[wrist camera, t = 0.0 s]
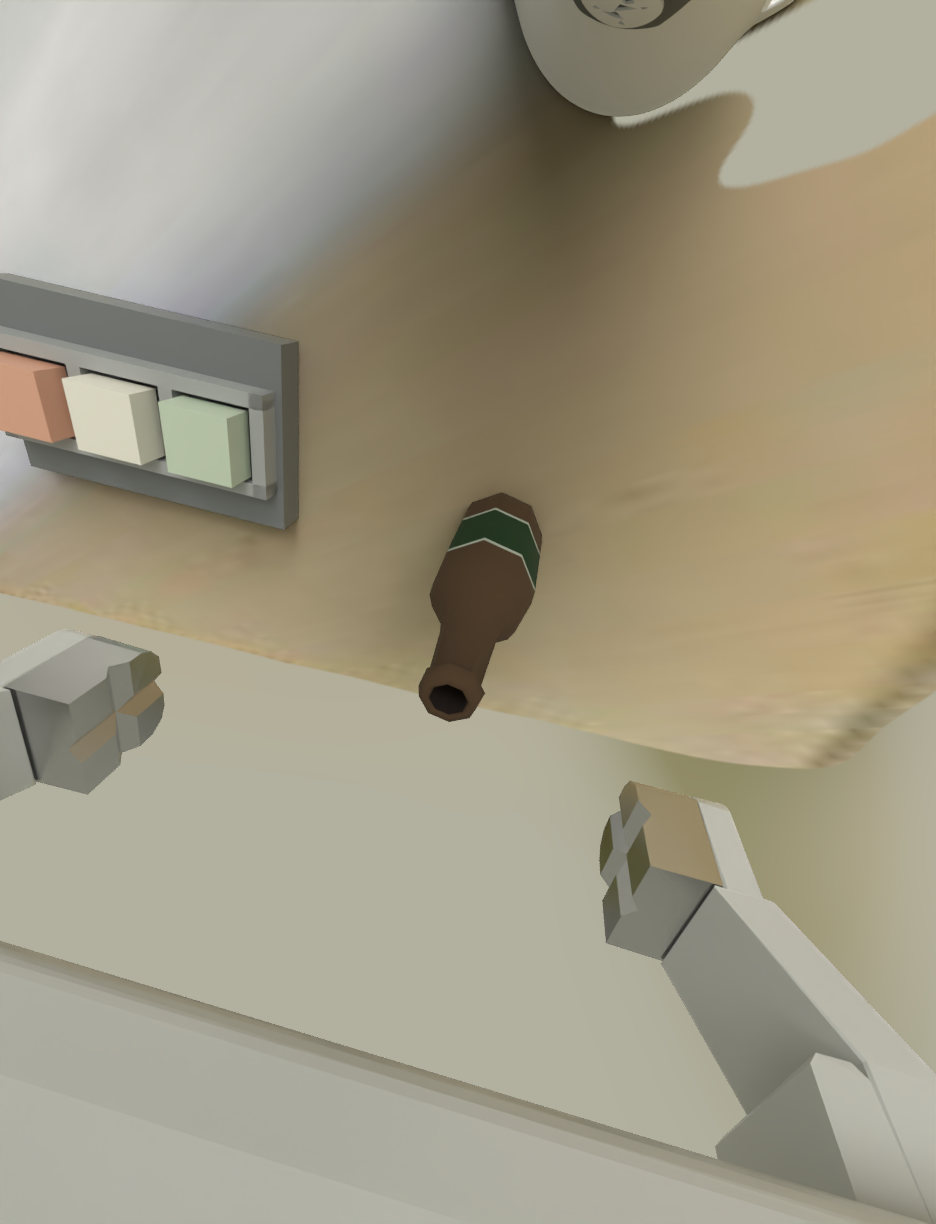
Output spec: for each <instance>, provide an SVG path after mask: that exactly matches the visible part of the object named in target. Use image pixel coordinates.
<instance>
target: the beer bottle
mask: <svg viewBox="0 0 936 1224" xmlns="http://www.w3.org/2000/svg"><path fill="white" fill-rule="evenodd" d="M541 543H542V535H541V532H540V529H539V526H538V523H537V521H536V518H535V515H534V512H533V510H532V507H531V506H530V505H528V504H525V503H523V502H521V501H519V500H517V499H515V498H513V497H510V496H508V495H506V494H504V493H499V494H496V495H493V496H490V497H488V498H485V499H482V500H479V501H476V502H473V503H472V504H471V505H470V507H469V508H468V510H467V512H466V514H465V516H464V518H463V520H462V522H461V524H460V526H459V528H458V530H457V532H456V535H455V537H454V539H453V541H452V543H451V545H450V547H449V549H448V551H447V553H446V555H445V558H444V560H443V562H442V565H441V567H440V569H439V571H438V574H437V576H436V578H435V581H434V583H433V586H432V589H431V592H430V598H431V603H432V607H433V609H434V611H435V613H436V615H437V617H438V619H439V621H440V623H441V628H440V635H439V638H438V642H437V645H436V649H435V652H434V655H433V659H432V662H431V666H430V667H429V668H427V669H426V671H425V673H424V675H423V678H422V680H421V682H420V684H419V697H420V699H421V701H422V702H423V704H424V706H425V708H426V710H427V711H428V713H430V714H432V715H434V716H437V717H439V718H441V719H444V720H446V721H449V722H451V721H456V720H461V719H467V718H470V716H471V715H472V713H473V712H474V711H475V709H476V708H477V706H478V704H479V702H480V701H481V699H482V697H483V696H484V694H485V693H484V691H483V688H482V686H481V684H482V681H483V678H484V675H485V672H486V669H487V667H488V664H489V661H490V658H491V655H492V652H493V649H494V646H495V643H496V642H500V641H504V640H507V639H508V638H509V637H510V636H511V635H512V634H513V633H514V632H515V631H516V629H517V627H518V625H519V624H520V622H521V620H522V618H523V617H524V615H525V613H526V612H527V610H528V608H529V606H530V605H531V603H532V599H533V596H534V593H535V587H536V579H537V572H538V565H539V558H540V551H541Z"/></svg>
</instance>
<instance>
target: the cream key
mask: <svg viewBox="0 0 936 1224" xmlns="http://www.w3.org/2000/svg"><path fill="white" fill-rule="evenodd" d="M61 379H62V383H63V387H64V391H65V395H66V400H67V404H68V408H69V412H70V416H71V420H72V425H73V429H74V433H75V437H76V441H77V445H78V450H82V451H86V452H90V453H94V454H98V455H102V456H106V457H110V458H114V459H118V460H122V461H126V462H130V463H134V464H138V465H143V464H145V463H148V462H150V461H153V460H155V459H158V458H160V457H163V456H165V451H164V444H163V437H162V431H161V424H160V417H159V410H158V403H157V397H156V390H155V388H151V387H147V386H143V385H139V384H135V383H131V382H126V381H122V380H118V379H114V378H110V377H106V376H102V375H98V374H93V373H90V374H84V375H78V376H72V377H67V378H61Z"/></svg>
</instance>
